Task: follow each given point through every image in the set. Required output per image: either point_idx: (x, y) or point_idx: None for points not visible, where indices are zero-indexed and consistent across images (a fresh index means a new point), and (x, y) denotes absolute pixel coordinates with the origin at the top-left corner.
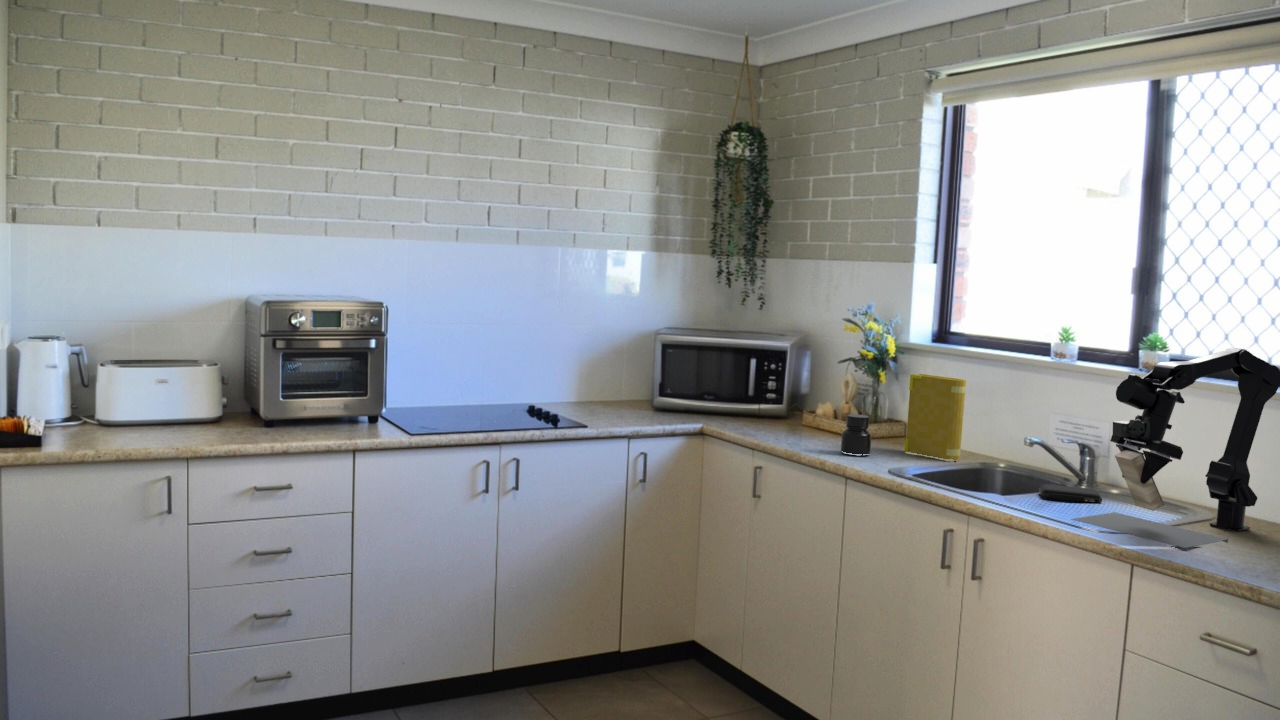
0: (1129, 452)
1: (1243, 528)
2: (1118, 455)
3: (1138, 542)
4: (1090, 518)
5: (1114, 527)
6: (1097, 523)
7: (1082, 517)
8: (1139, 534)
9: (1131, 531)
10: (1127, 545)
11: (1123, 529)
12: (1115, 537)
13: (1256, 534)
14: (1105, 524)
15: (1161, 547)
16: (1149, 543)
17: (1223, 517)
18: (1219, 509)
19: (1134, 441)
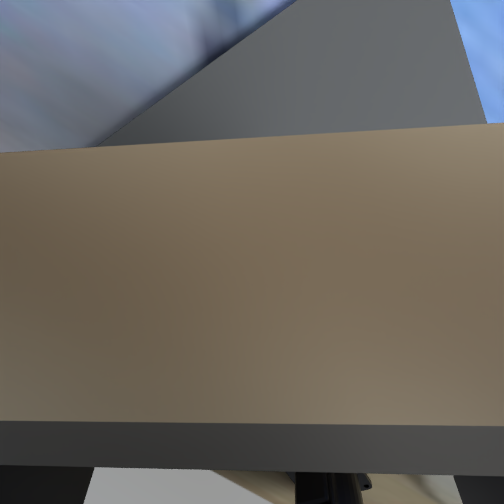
0: (330, 394)
1: (294, 482)
2: (481, 164)
3: (80, 89)
4: (427, 59)
5: (260, 92)
6: (328, 41)
7: (451, 19)
8: (160, 142)
9: (202, 135)
10: (11, 4)
11: (231, 117)
12: (134, 22)
13: (266, 480)
14: (312, 76)
15: (36, 144)
16: (80, 129)
17: (307, 477)
18: (321, 497)
19: None
